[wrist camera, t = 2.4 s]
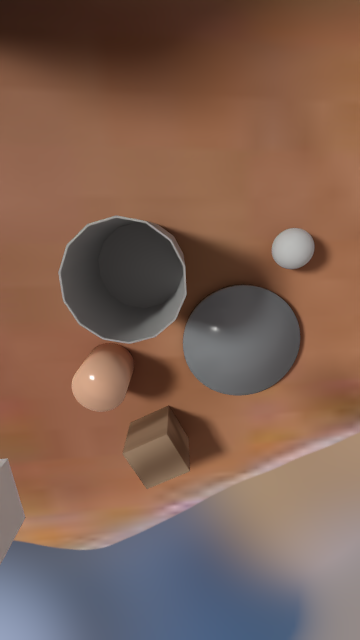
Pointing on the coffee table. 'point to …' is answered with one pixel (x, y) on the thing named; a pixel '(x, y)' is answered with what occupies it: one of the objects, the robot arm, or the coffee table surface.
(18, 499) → the robot arm
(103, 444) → the coffee table surface
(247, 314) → the coaster
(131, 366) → the peach capsule shape
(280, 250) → the grey ball
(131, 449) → the walnut block
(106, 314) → the cup
